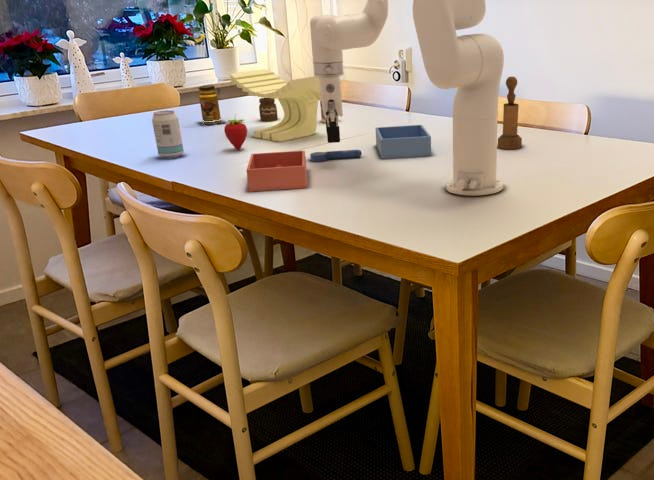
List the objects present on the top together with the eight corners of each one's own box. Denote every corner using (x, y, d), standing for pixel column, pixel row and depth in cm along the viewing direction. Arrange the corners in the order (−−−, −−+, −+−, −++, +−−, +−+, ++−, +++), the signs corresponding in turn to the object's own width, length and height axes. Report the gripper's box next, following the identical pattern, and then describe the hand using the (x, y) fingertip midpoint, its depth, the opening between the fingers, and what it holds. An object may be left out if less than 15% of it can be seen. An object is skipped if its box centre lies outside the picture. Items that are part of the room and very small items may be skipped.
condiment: (204, 126, 248) (199, 88, 243) (198, 122, 255) (192, 85, 250) (226, 123, 251) (220, 86, 246) (219, 119, 258) (213, 83, 252)
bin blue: (431, 155, 195) (431, 136, 193) (381, 158, 194) (380, 139, 192) (422, 142, 211) (421, 124, 208) (376, 145, 209) (375, 127, 207)
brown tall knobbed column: (520, 149, 198) (523, 78, 189) (496, 149, 199) (498, 78, 191) (522, 144, 203) (524, 74, 195) (498, 144, 205) (500, 75, 196)
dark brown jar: (259, 119, 256) (254, 82, 250) (277, 117, 257) (273, 81, 252) (261, 122, 251) (257, 84, 245) (280, 120, 252) (275, 83, 247)
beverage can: (189, 154, 209) (181, 110, 203) (176, 159, 203) (168, 114, 198) (167, 153, 211) (159, 110, 205) (154, 159, 205) (145, 114, 199)
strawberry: (239, 146, 216) (234, 110, 211) (254, 149, 211) (249, 113, 207) (222, 149, 212) (217, 113, 208) (237, 153, 208) (232, 116, 203)
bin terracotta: (306, 187, 171) (304, 166, 169) (249, 191, 170) (246, 169, 168) (306, 170, 186) (304, 150, 184) (254, 173, 185) (251, 153, 183)
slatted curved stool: (338, 135, 224) (333, 73, 216) (296, 145, 214) (290, 80, 206) (278, 125, 243) (272, 68, 235) (238, 133, 234) (230, 73, 225)
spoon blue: (361, 155, 199) (361, 147, 198) (362, 158, 195) (362, 151, 194) (310, 158, 198) (309, 150, 197) (310, 162, 194) (309, 154, 193)
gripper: (344, 73, 179) (349, 144, 187) (341, 64, 194) (346, 131, 202) (313, 74, 178) (319, 146, 187) (313, 65, 194) (318, 132, 202)
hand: (333, 138), depth 194 cm, fingers open, 9 cm apart
